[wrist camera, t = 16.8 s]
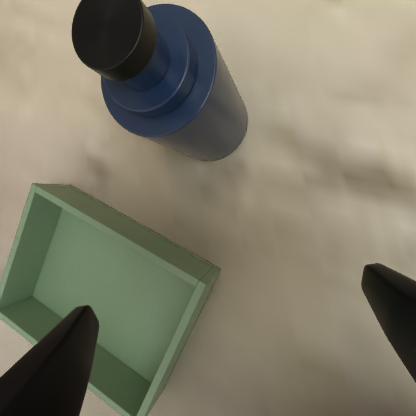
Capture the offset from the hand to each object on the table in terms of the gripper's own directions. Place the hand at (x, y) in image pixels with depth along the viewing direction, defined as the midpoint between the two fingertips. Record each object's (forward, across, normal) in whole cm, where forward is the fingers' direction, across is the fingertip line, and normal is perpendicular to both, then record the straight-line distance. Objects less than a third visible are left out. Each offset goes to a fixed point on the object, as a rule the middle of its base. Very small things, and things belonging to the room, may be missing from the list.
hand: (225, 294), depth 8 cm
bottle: (+16, -1, -2) cm, 16 cm away
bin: (+13, +11, +10) cm, 20 cm away
